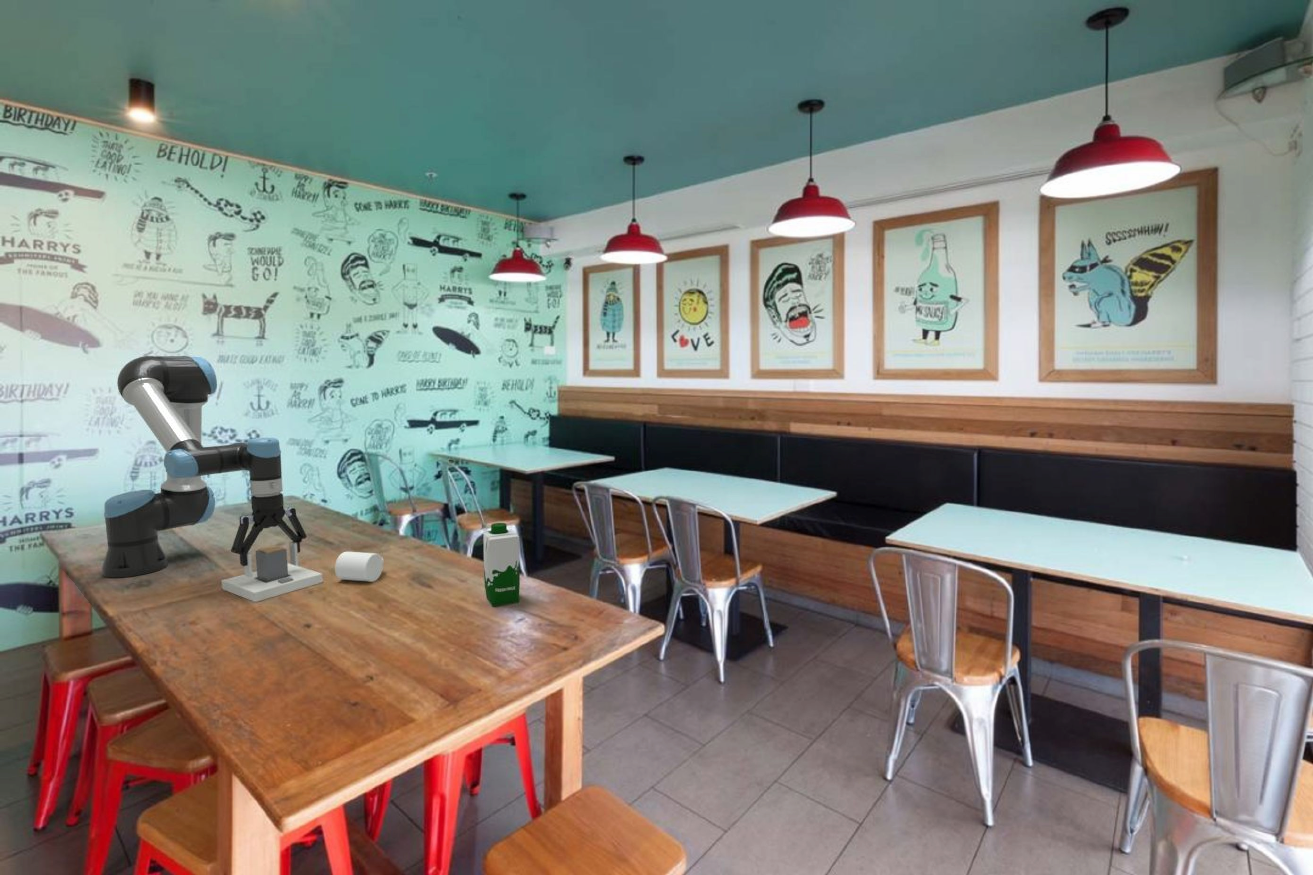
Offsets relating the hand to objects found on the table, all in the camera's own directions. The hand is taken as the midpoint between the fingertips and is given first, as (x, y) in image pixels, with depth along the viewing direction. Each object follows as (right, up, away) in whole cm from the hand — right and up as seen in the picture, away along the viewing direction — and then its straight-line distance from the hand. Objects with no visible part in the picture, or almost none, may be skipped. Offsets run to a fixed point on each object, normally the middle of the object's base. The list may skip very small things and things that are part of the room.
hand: (272, 570), depth 175 cm
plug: (0, -4, 0) cm, 4 cm away
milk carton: (+67, -6, -10) cm, 68 cm away
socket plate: (0, -4, 0) cm, 4 cm away
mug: (+22, -4, +8) cm, 24 cm away
